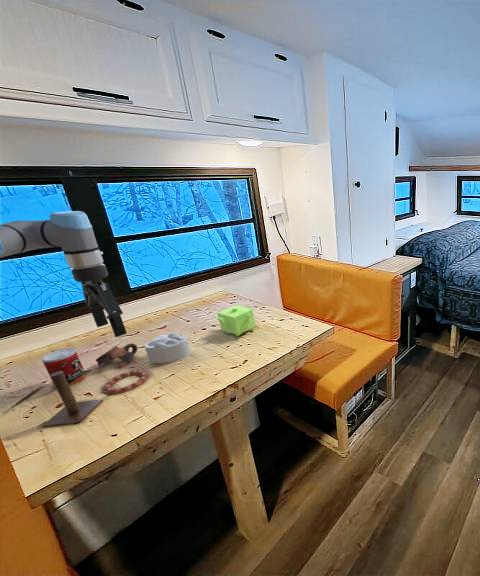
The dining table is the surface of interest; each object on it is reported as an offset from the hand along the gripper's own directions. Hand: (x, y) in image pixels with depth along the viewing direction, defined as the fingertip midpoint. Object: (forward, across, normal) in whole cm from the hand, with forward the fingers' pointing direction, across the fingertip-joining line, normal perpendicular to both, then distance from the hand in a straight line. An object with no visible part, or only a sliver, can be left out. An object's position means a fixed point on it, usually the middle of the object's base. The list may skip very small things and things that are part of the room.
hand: (111, 330), depth 96 cm
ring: (+18, -2, +2) cm, 18 cm away
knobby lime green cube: (+19, -2, -40) cm, 44 cm away
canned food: (+19, +16, +10) cm, 27 cm away
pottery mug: (+19, +14, -3) cm, 24 cm away
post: (+19, -6, +16) cm, 25 cm away
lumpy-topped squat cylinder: (+19, +2, -14) cm, 24 cm away
